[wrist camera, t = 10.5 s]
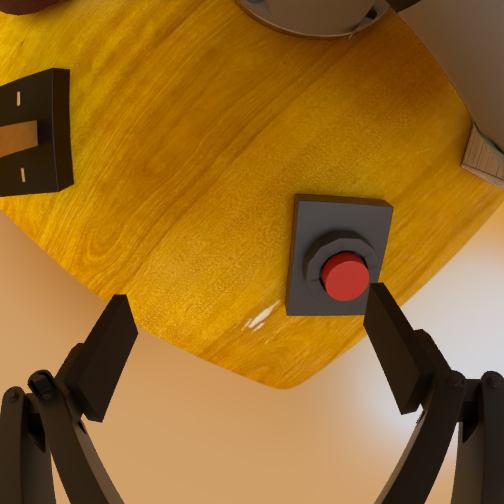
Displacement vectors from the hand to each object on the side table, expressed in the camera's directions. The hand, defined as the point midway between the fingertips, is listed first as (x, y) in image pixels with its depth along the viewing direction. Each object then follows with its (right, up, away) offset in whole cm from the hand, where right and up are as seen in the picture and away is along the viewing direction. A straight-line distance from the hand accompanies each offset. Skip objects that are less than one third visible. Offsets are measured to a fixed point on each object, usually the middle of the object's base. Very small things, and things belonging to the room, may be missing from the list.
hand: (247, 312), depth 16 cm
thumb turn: (-22, +14, +6) cm, 27 cm away
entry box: (+8, +3, +14) cm, 17 cm away
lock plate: (-22, +16, +9) cm, 28 cm away
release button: (+8, +1, +11) cm, 14 cm away
